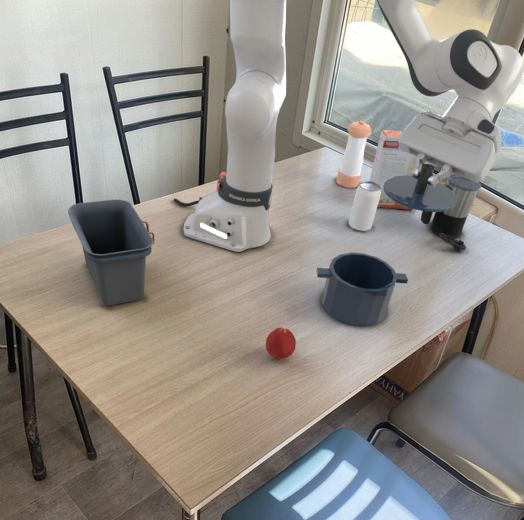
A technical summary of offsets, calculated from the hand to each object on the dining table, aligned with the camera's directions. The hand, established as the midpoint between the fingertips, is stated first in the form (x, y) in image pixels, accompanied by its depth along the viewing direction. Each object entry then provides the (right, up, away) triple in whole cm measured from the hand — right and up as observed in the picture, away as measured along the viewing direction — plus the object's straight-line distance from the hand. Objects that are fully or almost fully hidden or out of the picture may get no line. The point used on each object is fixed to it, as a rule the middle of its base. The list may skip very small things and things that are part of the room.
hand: (422, 180), depth 111 cm
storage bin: (-65, -20, +7) cm, 68 cm away
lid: (0, -2, +2) cm, 3 cm away
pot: (-13, -25, +10) cm, 30 cm away
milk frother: (+19, -4, +39) cm, 44 cm away
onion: (-30, -37, -5) cm, 48 cm away
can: (-6, -1, +38) cm, 39 cm away
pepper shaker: (-6, +18, +59) cm, 61 cm away
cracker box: (+5, +9, +50) cm, 51 cm away
